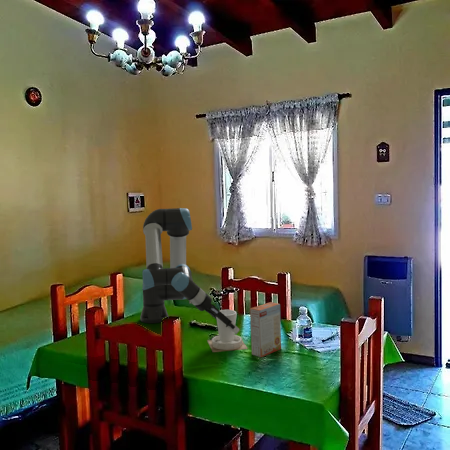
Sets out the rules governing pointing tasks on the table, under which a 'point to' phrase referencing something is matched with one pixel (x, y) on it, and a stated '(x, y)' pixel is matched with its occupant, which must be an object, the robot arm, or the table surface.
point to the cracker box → (265, 329)
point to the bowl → (227, 343)
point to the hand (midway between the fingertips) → (232, 328)
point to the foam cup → (224, 331)
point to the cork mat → (226, 350)
